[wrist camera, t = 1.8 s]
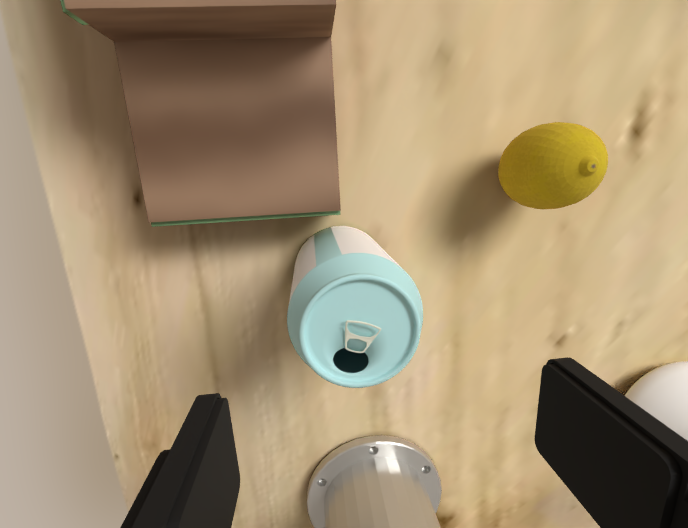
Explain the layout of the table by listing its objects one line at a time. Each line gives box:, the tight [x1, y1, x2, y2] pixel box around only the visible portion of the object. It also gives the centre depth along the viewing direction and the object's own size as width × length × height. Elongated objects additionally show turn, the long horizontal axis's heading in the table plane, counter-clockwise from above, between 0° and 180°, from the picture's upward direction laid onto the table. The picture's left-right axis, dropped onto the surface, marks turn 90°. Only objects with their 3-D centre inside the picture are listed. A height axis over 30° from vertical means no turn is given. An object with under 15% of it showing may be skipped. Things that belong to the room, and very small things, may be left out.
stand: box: [61, 0, 341, 227], centre depth 20 cm, size 20×12×8 cm, turn 3°
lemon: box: [498, 122, 608, 209], centre depth 23 cm, size 6×6×8 cm
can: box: [287, 226, 423, 388], centre depth 22 cm, size 7×7×12 cm
